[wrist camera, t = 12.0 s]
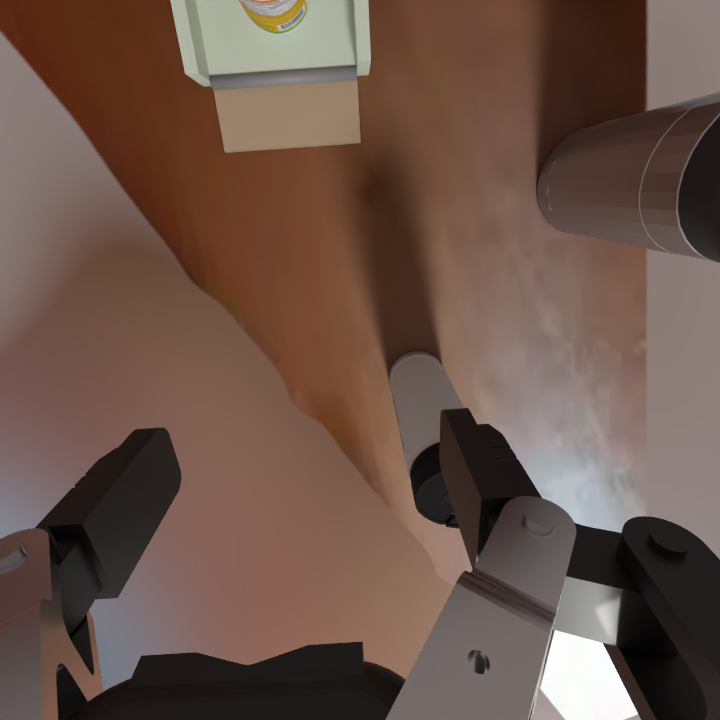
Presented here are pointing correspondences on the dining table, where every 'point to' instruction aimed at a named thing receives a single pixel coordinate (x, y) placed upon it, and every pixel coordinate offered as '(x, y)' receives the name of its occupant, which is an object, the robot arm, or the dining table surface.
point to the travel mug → (424, 429)
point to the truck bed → (278, 72)
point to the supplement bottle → (276, 14)
